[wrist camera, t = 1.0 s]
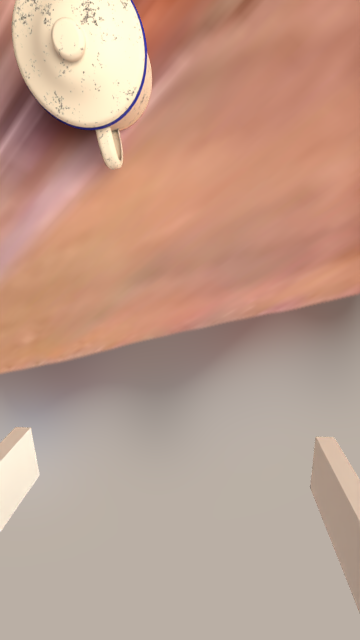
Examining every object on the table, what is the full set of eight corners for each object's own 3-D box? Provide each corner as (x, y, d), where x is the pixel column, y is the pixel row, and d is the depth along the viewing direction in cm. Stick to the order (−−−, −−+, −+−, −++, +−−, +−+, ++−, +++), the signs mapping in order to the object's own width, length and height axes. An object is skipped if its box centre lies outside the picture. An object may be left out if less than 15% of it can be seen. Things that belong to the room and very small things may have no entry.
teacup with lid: (41, 22, 27) (-43, -57, 16) (144, 1, 26) (122, -94, 16) (82, 173, 32) (38, 183, 22) (167, 159, 32) (162, 163, 22)
